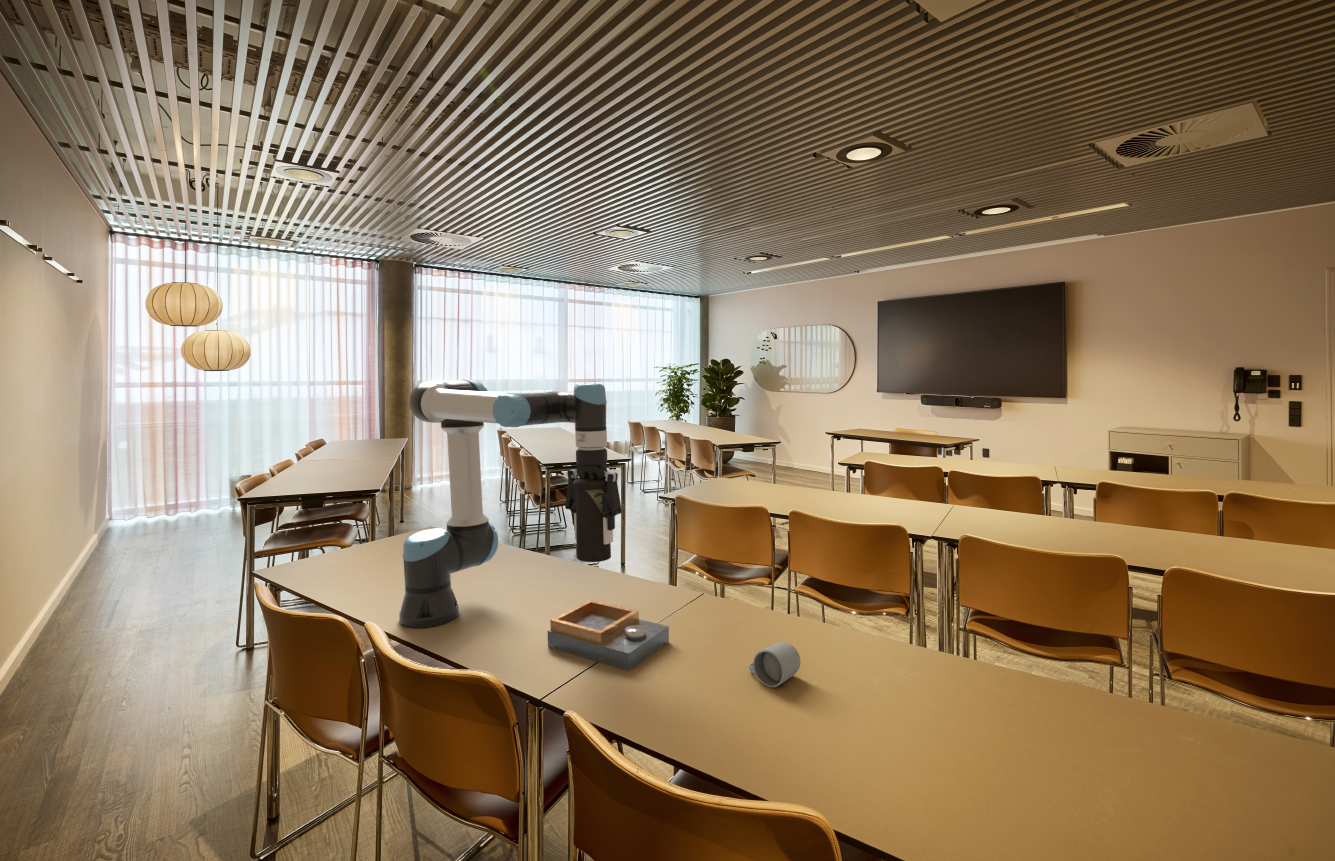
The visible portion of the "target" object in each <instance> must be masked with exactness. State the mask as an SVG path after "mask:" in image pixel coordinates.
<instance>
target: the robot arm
mask: <svg viewBox="0 0 1335 861" xmlns="http://www.w3.org/2000/svg"><path fill="white" fill-rule="evenodd" d="M408 406H409V410H410V412H411V413H412V414H413V415H414V417H416V418H417V419H418V420H420V421H423V422H426V423H440V428H441V429H442V430H443V431H444V432H445V433H446V437H447V439H446V440H447V453H448V456H447V457H448V470H449V471H448V473H449V490H450V491H449V492H450V509H451V517H450V518H449V519H448V520H447V521H446V528H442V527H436V528H435V527H434V528H433V527H432V528H430V529H428V528H427V529H423V530H420V531H417V532H415V533H413V534H410V535H409V536H408V537H407V538H406V539H405V540H404V542H403V545H402V546H403V548H402V559H403V576H404V590H405V591H404V596H403V601H402V604H401V607H400V611H399V623H400V625H402V626H404V627H406V628H413V629H414V628H415V629H419V628H421V629H423V628H430V627H431V628H432V627H435V626H436V627H437V626H440V625H444V624H446V623H449V622H451V621H453V620H454V619H456V618H457V617H458V616H459V613H460V610H459V609H460V607H459V603H458V601H457V598H456V596H455V594H454V591H453V589H452V583H451V580H452V579H451V576H452V575H451V574H453V573H457V572H460V571H463V570H467V569H469V568H472V567H478V566H481V565H483V564H484V563H487V562H489V561H490V560H492V558H493V557H494V556H495V555H496V553H497V551H498V549H499V548H498V547H499V535H498V531H496V528H495V526H494V525H493V524H492V523H490V521H489V518H488V517H487V515H485V514H484V511H483V494H482V493H483V492H482V490H483V489H482V473H481V452H480V451H481V450H480V434H479V433H480V431H481V430H482V429H484V427H485V426H484V425H485V424H484V423H486V424H488V423H490V424H499V426H501V427H504V428H519V427H525V426H533V425H544V424H545V425H547V424H556V423H557V424H558V423H569V424H570V423H572V424H574V432H575V435H574V436H575V447H576V448H577V449H576V450H575V463H576V465H577V468H574V469H570V470H569V469H568V470H567V472H566V474H567V489H566V496H565V503H564V508H565V510H569V511H570V512H571V513H572V514H571V518H572V519H571V520H572V526H574V540H576V488H575V487H574V486H573V481H574V480H576V479H577V478H580V479H585V478H590V480H603V479H604V480H605V478H606V481H607V488H608V492H607V493H606V494H602V506H603V509H604V512H605V514H606V516H604V517H603V535H604V544H609V543H611V544H612V543H613V542H614V530H615V529H616V516H617V515H621V514H622V513H623V509H622V504H621V503H622V502H621V499H620V498H621V496H620V493H619V485H618V476H619V474H618V472H610V471H608V468H607V463H608V449H607V446H608V430H607V395H606V386H604V384H602V383H579V384H575V385H574V387H573V391H571V392H570V391H546V392H533V393H531V392H528V393H526V392H525V393H521V392H520V393H519V392H518V393H517V392H516V393H515V392H500V391H499V392H498V391H488V389H487V388H486V387H485V385H484V384H483V383H481V382H480V381H478V380H474V379H473V380H472V379H464V378H463V379H446V380H445V379H443V380H442V379H441V380H440V379H439V380H438V379H437V380H436V379H433V380H432V379H431V380H426V381H423V382H420V383H419V384H418V385H416V386H415V387H414V388H413V389H412V391H411V392H410V395H409V398H408ZM605 447H606V448H605Z"/></svg>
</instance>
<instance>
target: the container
mask: <svg viewBox="0 0 1335 861" xmlns="http://www.w3.org/2000/svg"><path fill="white" fill-rule="evenodd" d="M573 486H574V487H575V488H576V539H575V542H576V543H575V546H576V550H575V551H576V555H575V556H576V559H577V560H578V561H579V562H585V563H599V562H605V561H608V560H609V559H611V557H612V548H611V544H612V542H611V543H609V544H604V535H603V517H604V516H606V514H605V512H604V509H603V506H602V494H606V493H607V492H608V488H607V481H606V478H605V480H604V479H603V480H590V478H585V479H580V478H579V477H578V478H577V479H576V480H574V481H573Z"/></svg>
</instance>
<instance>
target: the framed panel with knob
mask: <svg viewBox="0 0 1335 861" xmlns="http://www.w3.org/2000/svg"><path fill="white" fill-rule="evenodd" d="M639 613H640V612H639V610H637V609H632V608H627V607H623V606H618V605H614V604H610V603H607V602H606V603H605V602H601V601H597V600H593V599H589V600H587V601H586V602H583V603H581V604H579V605H577V606H576V607H573V608H571V609H569V610H567V611H565V612H563V613H561V614H560V615H558V616H556V617H553V618H552V619H549V622H550V623H549V624H550V629H549V630H547V631H546V632H547V647H548V648H551V649H554V650H557V651H561V652H564V653H567V654H571V655H574V656H576V657H577V656H578V657H581V658H584V659H588V660H591V661H594V662H598V663H601V664H605V665H608V666H611V667H614V668H617V669H621V670H624V671H627V672H629V671H631V670H632V669H634V668H635V667H636V666H638V665H639V664H641V663H642V662H643V661H645V660H646V659H648V658H649V657H650V656H652V655H653V654H654V653H655V652H657V651H658V650H660V649H661V648H662V647H664V646H665V645H667V644H668V643H669V642H670V626H669V625H665V624H661V623H657V622H653V621H649V620H648V621H647V620H645V619H640V618H639V616H640V614H639Z"/></svg>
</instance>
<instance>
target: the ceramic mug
mask: <svg viewBox="0 0 1335 861" xmlns="http://www.w3.org/2000/svg"><path fill="white" fill-rule="evenodd" d="M800 668H801V657H800V654H799V652H798V650H797V649H796V648H795V647H794V646H793V645H792V644H791V643H787V642H777V643H774V644H772V645H770V646H768V647H766V648H763V649H761V650H759V651H758V652H757V653H756V654H755V655H754V657H753V661H752V663H750V664H749V665H748V670H749V672H750V674H755V676H756V678H757V680H759V682H760V683H762V685H764V686H766V687H769V688H777V687H779V686H780V685H781V684H783V683H785V682H786V681H788V680H789V679H790V678H792V677H793V676H795V675H796V674H797V672H798V671H799V670H800Z"/></svg>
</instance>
